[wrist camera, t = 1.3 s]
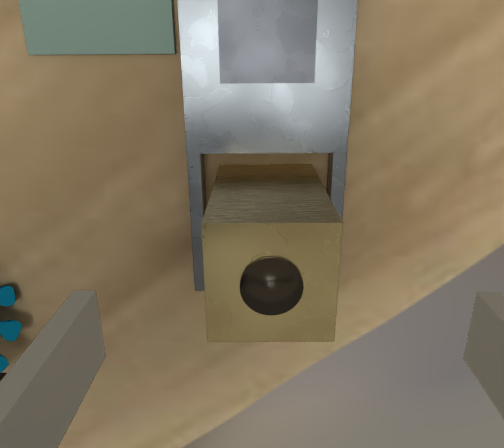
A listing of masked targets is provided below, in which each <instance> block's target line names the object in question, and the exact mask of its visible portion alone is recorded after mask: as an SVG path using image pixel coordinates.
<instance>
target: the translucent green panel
mask: <svg viewBox="0 0 504 448" xmlns="http://www.w3.org/2000/svg"><path fill="white" fill-rule="evenodd" d="M19 5H20V11H21V17H22V22H23V28H24V34H25V39H26V45H27V51H28V55H74V54H176V46H175V30H174V14H173V0H19Z"/></svg>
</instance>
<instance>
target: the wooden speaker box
mask: <svg viewBox="0 0 504 448" xmlns="http://www.w3.org/2000/svg"><path fill="white" fill-rule="evenodd" d="M201 226H202V246H203V265H204V285H205V304H206V324H207V342H334V340H335V326H336V312H337V299H338V285H339V271H340V257H341V243H342V230H343V222H342V220H341V218H340V216H339V214H338V213H337V211H336V209H335V207H334V205H333V203H332V201H331V199H330V198H329V196H328V194H327V192H326V190H325V188H324V186H323V185H322V183H321V181H320V179H319V177H318V175H317V173H316V171H315V170H314V168H313V166H312V164H264V165H220V168H219V171H218V174H217V177H216V180H215V183H214V186H213V189H212V192H211V195H210V198H209V201H208V204H207V208H206V211H205V214H204V217H203V220H202V223H201Z"/></svg>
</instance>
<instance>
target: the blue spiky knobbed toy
mask: <svg viewBox="0 0 504 448" xmlns="http://www.w3.org/2000/svg"><path fill="white" fill-rule="evenodd" d="M14 303H15V293H14V289H13V287H11V286H1V287H0V305H2V306H11V305H13V304H14ZM21 327H22V324H21V323H20V322H18V321H16V320H6V321H0V335H1V336H2V337H3V338H4V339H5V340H7V341H15V340H16V338H17V337H18V335H19V333H20V330H21ZM8 365H9V362H8V360H7V359H6V358H5V357H4V356H3V355H0V373H1V372H2V371H3V370H4V369H5V368H6V367H7V366H8Z"/></svg>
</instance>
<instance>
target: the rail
mask: <svg viewBox="0 0 504 448" xmlns="http://www.w3.org/2000/svg"><path fill="white" fill-rule="evenodd" d="M357 7H358V0H178V16H179V33H180V50H181V66H182V83H183V100H184V116H185V133H186V150H187V166H188V183H189V200H190V216H191V233H192V250H193V266H194V283H195V291H205V285H204V265H203V246H202V226H201V223H202V220H203V217H204V214H205V211H206V202H205V180H204V158H203V154H219V153H329V163H328V180H327V194H328V196H329V198H330V199H331V201H332V203H333V205H334V207H335V209H336V211H337V213H338V214H339V216H340V218H341V220H342V216H343V202H344V188H345V174H346V160H347V146H348V132H349V118H350V104H351V90H352V76H353V62H354V48H355V34H356V20H357Z"/></svg>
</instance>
